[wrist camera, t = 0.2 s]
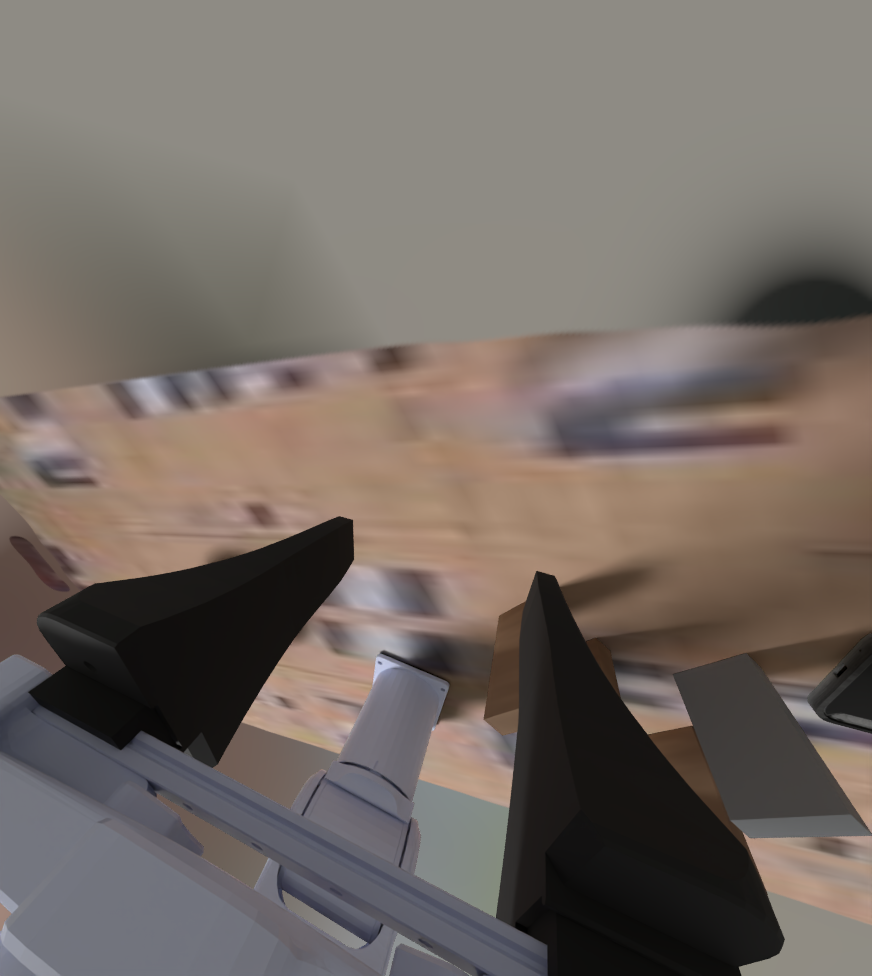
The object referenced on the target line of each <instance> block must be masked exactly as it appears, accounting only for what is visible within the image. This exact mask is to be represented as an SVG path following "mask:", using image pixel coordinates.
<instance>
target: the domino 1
mask: <svg viewBox="0 0 872 976" xmlns="http://www.w3.org/2000/svg"><path fill="white" fill-rule="evenodd" d="M525 603H526V602H524V603H522V604H520V605H518V606H517V607H515V608H513V609H511V610H509V611H507V612H505V613H504V614H502V615H500V616H499V620H498V627H497V634H496V640H495V647H494V654H493V660H492V667H491V674H490V681H489V687H488V694H487V701H486V707H485V714H484V720H485V721H486V722H487V723H488V724H490V725H491V726H492V727H493V728H494V729H495V730H497V731H498V732H499V733H500V734H501V735H507V734H510V733H514V732H517V730H518V716H519V637H520V629H521V620H522V613H523V609H524V606H525Z"/></svg>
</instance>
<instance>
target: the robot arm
mask: <svg viewBox="0 0 872 976" xmlns="http://www.w3.org/2000/svg"><path fill="white" fill-rule="evenodd" d="M353 560H354V541H353V520H351V519H347V518H344V517H340V516H339V517H336V518H334V519H331V520H329V521H326V522H324V523H322V524H319V525H317V526H315V527H312V528H310V529H308V530H305V531H303V532H301V533H298V534H296V535H294V536H291V537H289V538H287V539H284V540H281V541H279V542H276V543H274V544H271V545H268V546H266V547H263V548H261V549H258V550H255V551H252V552H249V553H246V554H243V555H239V556H236V557H233V558H230V559H226V560H223V561H219V562H215V563H210V564H206V565H202V566H198V567H194V568H190V569H186V570H181V571H176V572H171V573H165V574H160V575H154V576H148V577H142V578H135V579H127V580H120V581H112V582H104V583H95V584H93V585H91V586H89V587H87V588H86V589H84V590H82V591H80V592H79V593H77V594H75V595H73V596H72V597H70V598H68V599H66V600H65V601H62V602H61V603H59V604H57V605H55V606H53V607H51V608H50V609H48V610H46V611H44V612H42V613H41V614H40V615H39V616H38V618H37V625H38V627H39V629H40V631H41V633H42V634H43V636H44V637H45V639H46V640H47V642H48V643H49V644H50V646H51V647H52V648H53V649H54V651H55V652H56V653H57V655H58V656H59V657H60V659H61V660H62V661H63V663H64V664H65V665H66V666H65V667H63V668H62V669H61V670H59V671H58V672H56V673H55V674H53V675H52V674H51V673H50V672H49V671H48V670H46V669H45V668H43V667H42V666H40V665H38V664H36V663H34V662H32V661H30V660H28V659H26V658H24V657H22V656H21V655H12V656H11V657H9V658H7V659H6V660H4V661H2V662H1V663H0V903H1V904H2V905H3V906H5V908H6V909H8V910H9V911H10V912H11V913H12V914H11V916H9V918H8V919H7V920H6V921H5V923H4V926H3V929H2V931H1V932H0V976H385V974H386V970H387V966H388V962H389V958H390V955H391V951H392V947H393V943H394V941H395V938H396V936H397V933H400V934H401V935H403V936H405V937H407V938H408V939H410V940H412V941H413V942H415V943H417V944H419V945H420V946H422V947H424V948H426V949H427V950H429V951H431V952H432V953H434V954H436V955H438V956H439V957H441V958H443V959H444V960H446V961H448V962H450V963H451V964H450V963H448V962H445V961H443V960H441V959H438V958H436V957H433V956H431V955H428V954H426V953H423V952H421V951H419V950H416V949H414V948H411V947H409V946H406V945H404V944H400V945H399V946H398V947H396V950H395V954H394V958H393V962H392V966H391V971H390V975H389V976H469V975H468V974H467V973H469V974H470V975H472V976H741V973H740V970H739V966H743V965H747V964H751V963H754V962H758V961H762V960H765V959H769V958H771V957H773V956H775V955H777V954H779V953H780V951H781V949H782V946H783V943H784V940H785V939H784V936H783V934H782V931H781V929H780V926H779V924H778V921H777V919H776V917H775V914H774V911H773V909H772V906H771V903H770V901H769V898H768V896H767V893H766V891H765V888H764V886H763V883H762V881H761V879H760V877H759V875H758V873H757V870H756V868H755V866H754V864H753V862H752V860H751V858H750V855H749V853H748V851H747V849H746V848H745V847H744V846H743V845H742V844H741V843H740V841H739V840H738V839H737V838H736V837H735V836H734V835H733V834H732V833H731V832H730V830H729V829H728V828H727V827H726V826H725V825H724V824H723V823H722V822H721V821H720V819H719V818H718V817H717V816H716V815H715V814H714V813H713V812H712V811H711V809H710V808H709V807H708V806H707V805H706V804H705V803H704V802H703V801H702V800H701V798H700V797H699V796H698V795H697V794H696V793H695V792H694V791H693V790H692V788H691V787H690V786H689V785H688V784H687V783H686V781H685V780H684V779H683V778H682V777H681V775H680V774H679V773H678V772H677V771H676V769H675V768H674V767H673V766H672V765H671V763H670V762H669V761H668V760H667V759H666V757H665V756H664V755H663V754H662V753H661V751H660V750H659V749H658V748H657V746H656V745H655V744H654V743H653V741H652V740H651V739H650V737H649V736H648V735H647V733H646V732H645V731H644V729H643V728H642V727H641V725H640V724H639V723H638V721H637V720H636V719H635V718H634V716H633V715H632V714H631V712H630V711H629V710H628V708H627V707H626V705H625V704H624V702H623V701H622V700H621V698H620V697H619V695H618V694H617V692H616V691H615V689H614V688H613V686H612V685H611V683H610V682H609V680H608V679H607V677H606V676H605V674H604V672H603V671H602V669H601V667H600V666H599V664H598V662H597V661H596V659H595V657H594V656H593V654H592V652H591V650H590V649H589V647H588V645H587V643H586V641H585V640H584V638H583V636H582V634H581V632H580V630H579V628H578V626H577V624H576V622H575V620H574V618H573V616H572V614H571V612H570V610H569V607H568V605H567V603H566V601H565V598H564V596H563V594H562V591H561V589H560V587H559V584H558V582H557V579H556V578H555V576H553V575H549V574H546V573H542V572H538V571H536V574H535V577H534V580H533V582H532V585H531V588H530V591H529V594H528V597H527V600H526V603H525V606H524V609H523V613H522V620H521V629H520V637H519V716H518V730H517V740H516V751H515V761H514V771H513V780H512V790H511V799H510V808H509V818H508V826H507V834H506V843H505V851H504V859H503V867H502V875H501V883H500V892H499V898H498V906H497V914H496V918H495V917H493V916H491V915H489V914H487V913H485V912H483V911H481V910H480V909H478V908H476V907H474V906H472V905H470V904H468V903H466V902H464V901H463V900H461V899H459V898H457V897H455V896H453V895H451V894H449V893H447V892H446V891H444V890H442V889H440V888H438V887H436V886H434V885H432V884H430V883H428V882H427V881H425V880H423V879H421V878H419V877H417V876H415V875H414V871H415V867H416V863H417V858H418V852H419V847H420V838H421V835H420V831H419V828H418V821H417V820H416V819H414V818H412V817H411V814H412V810H413V807H414V802H412V800H413V796H414V792H415V789H416V785H417V782H418V778H419V775H420V771H421V767H422V764H423V760H424V757H425V753H426V749H427V746H428V742H429V739H430V735H431V731H433V730H434V729H435V726H436V724H437V721H438V718H439V715H440V712H441V709H442V706H443V703H444V700H445V698H446V695H447V692H448V689H449V683H448V682H447V681H445V680H442V679H440V678H438V677H435V676H433V675H431V674H428V673H426V672H423V671H421V670H419V669H416V668H414V667H412V666H409V665H407V664H405V663H402V662H400V661H397V660H395V659H393V658H390V657H388V656H386V655H383V654H378V655H377V657H376V663H375V671H374V679H373V687H372V689H371V691H370V693H369V695H368V697H367V699H366V701H365V703H364V705H363V707H362V709H361V712H360V714H359V716H358V718H357V720H356V722H355V724H354V726H353V728H352V730H351V732H350V734H349V736H348V739H347V741H346V743H345V745H344V747H343V749H342V751H341V753H340V755H339V757H338V759H337V761H335V760H333V761H332V763H331V765H330V767H329V769H328V771H325V770H323V769H321V770H319V771H318V772H317V773H315V774H313V775H311V776H310V777H309V779H308V780H307V781H306V783H305V784H304V786H303V787H302V789H301V790H300V792H299V794H298V796H297V797H296V799H295V801H294V803H293V804H292V807H291V809H289V808H287V807H285V806H283V805H281V804H279V803H277V802H275V801H273V800H272V799H270V798H268V797H266V796H264V795H262V794H260V793H258V792H256V791H255V790H253V789H250V788H249V787H247V786H245V785H243V784H241V783H239V782H238V781H236V780H234V779H232V778H230V777H228V776H226V775H224V774H222V773H221V772H219V771H217V770H215V769H213V767H214V766H216V765H217V764H218V763H219V761H220V759H221V757H222V755H223V754H224V752H225V750H226V748H227V746H228V745H229V743H230V741H231V739H232V738H233V736H234V734H235V732H236V730H237V729H238V727H239V725H240V723H241V722H242V720H243V718H244V716H245V715H246V713H247V711H248V710H249V708H250V707H251V705H252V703H253V702H254V700H255V698H256V697H257V695H258V693H259V692H260V690H261V688H262V687H263V685H264V684H265V682H266V680H267V679H268V677H269V676H270V674H271V673H272V671H273V670H274V668H275V666H276V665H277V663H278V662H279V660H280V659H281V657H282V656H283V654H284V653H285V651H286V650H287V648H288V647H289V645H290V644H291V643H292V641H293V640H294V638H295V637H296V635H297V634H298V633H299V631H300V630H301V629H302V627H303V626H304V625H305V624H306V623H307V621H308V620H309V619H310V618H311V616H312V615H313V614H314V613H315V612H316V610H317V609H318V608H319V607H320V606H321V604H322V603H323V602H324V601H325V600H326V598H327V597H328V596H329V595H330V594H331V592H332V591H333V590H334V589H335V587H336V586H337V585H338V584H339V582H340V581H341V580H342V578H343V577H344V575H345V574H346V572H347V570H348V569H349V567H350V565H351V564H352V562H353ZM157 793H158V794H159V795H161V796H163V797H165V798H166V799H168V800H170V801H172V802H173V803H175V804H177V805H178V806H180V807H182V808H184V809H186V810H187V811H189V812H191V813H192V814H194V815H196V816H197V817H199V818H201V819H203V820H204V821H206V822H208V823H210V824H211V825H213V826H215V827H217V828H219V829H220V830H222V831H223V832H225V833H227V834H229V835H230V836H232V837H234V838H236V839H237V840H239V841H241V842H242V843H244V844H246V845H248V846H249V847H251V848H253V849H255V850H256V851H258V852H260V853H261V854H263V855H265V856H267V857H268V860H267V862H266V864H265V867H264V869H263V871H262V873H261V875H260V877H259V879H258V881H257V883H256V885H255V887H254V889H252V888H251V887H249V886H247V885H246V884H244V883H243V882H241V881H240V880H238V879H237V878H235V877H233V876H232V875H230V874H228V873H227V872H225V871H223V870H222V869H220V868H219V867H217V866H215V865H214V864H212V863H210V862H209V861H207V860H205V859H204V858H202V857H201V855H202V854H203V851H204V846H203V845H202V844H201V843H200V842H198V840H197V839H196V838H194V836H193V835H192V834H191V833H190V832H189V831H188V830H187V829H186V827H185V826H184V824H183V823H182V821H181V818H180V816H179V815H178V814H177V813H176V812H174V811H173V810H172V809H170V808H169V807H168V806H166V805H165V804H164V803H162V802H161V801H160V800H158V799H157V798H156V794H157ZM410 818H411V819H410ZM282 890H284V891H286V892H287V893H289V894H291V895H292V896H294V897H295V898H297V899H298V900H300V901H302V902H303V903H305V904H306V905H308V906H310V907H311V908H313V909H315V910H316V911H318V912H319V913H321V914H323V915H324V916H326V917H327V918H329V919H330V920H332V921H334V922H335V923H337V924H339V925H340V926H342V927H343V928H345V929H347V930H348V931H350V932H351V933H353V934H354V935H356V936H358V937H359V938H361V939H362V940H364V941H366V942H368V943H367V944H366V945H364V946H362V947H361V948H359V949H354V948H350V947H348V946H346V945H345V944H343V943H341V942H340V941H338V940H336V939H335V938H334V937H332V936H330V935H329V934H327V933H326V932H324V931H323V930H320V929H319V928H318V927H316V926H315V925H313V924H311V923H310V922H308V921H307V920H305V919H304V918H302V917H300V916H299V915H297V914H296V913H294V912H293V911H291V910H289V909H288V908H287V907H286V906H285V903H284V900H283V894H282ZM452 964H453V965H452ZM454 965H455V966H457V967H458V968H457V967H455V966H454ZM459 968H460V969H462V970H463V971H462V970H460V969H459ZM464 971H465V972H467V973H465V972H464Z"/></svg>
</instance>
